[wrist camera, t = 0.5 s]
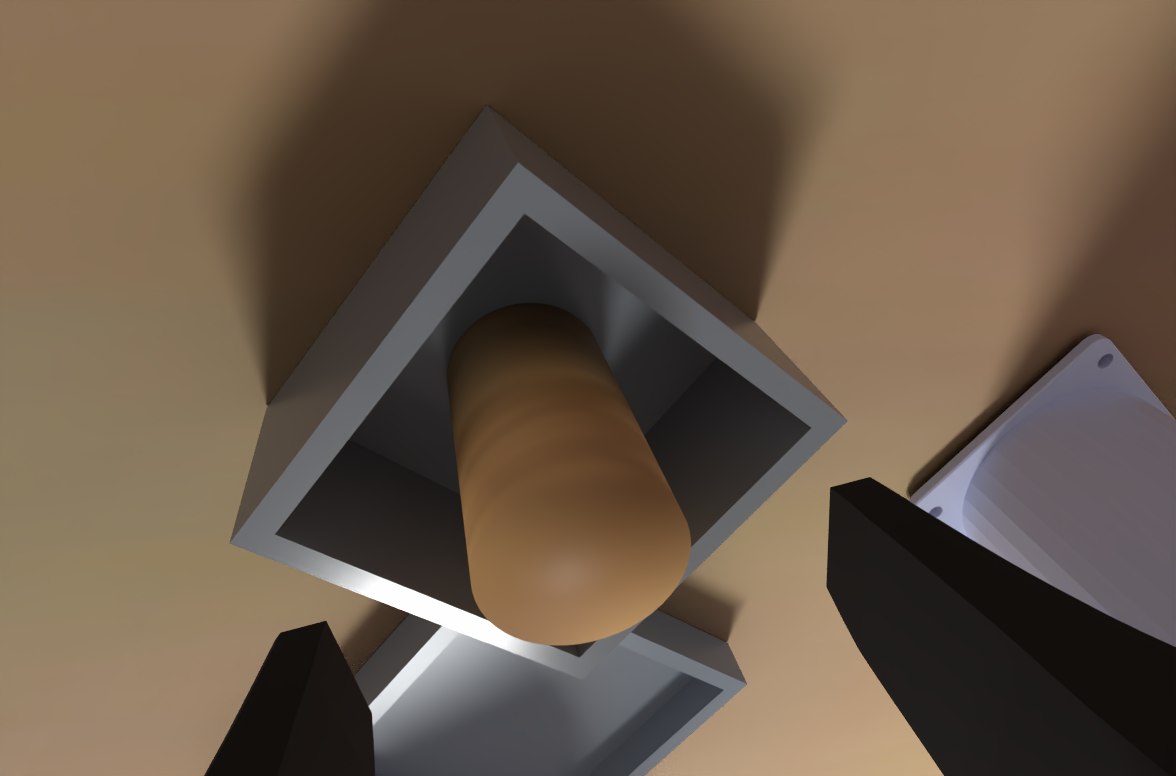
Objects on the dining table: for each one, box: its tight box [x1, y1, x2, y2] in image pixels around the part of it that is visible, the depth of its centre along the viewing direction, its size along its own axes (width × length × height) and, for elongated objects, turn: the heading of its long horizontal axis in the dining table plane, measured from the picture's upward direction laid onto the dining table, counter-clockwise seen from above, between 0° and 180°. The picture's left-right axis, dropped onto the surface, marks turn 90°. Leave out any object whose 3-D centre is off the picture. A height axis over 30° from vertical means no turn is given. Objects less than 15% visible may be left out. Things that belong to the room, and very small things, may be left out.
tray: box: [354, 609, 747, 776], centre depth 26 cm, size 11×11×2 cm
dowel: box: [447, 303, 691, 645], centre depth 16 cm, size 4×4×7 cm
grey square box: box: [230, 105, 847, 680], centre depth 18 cm, size 9×9×5 cm
